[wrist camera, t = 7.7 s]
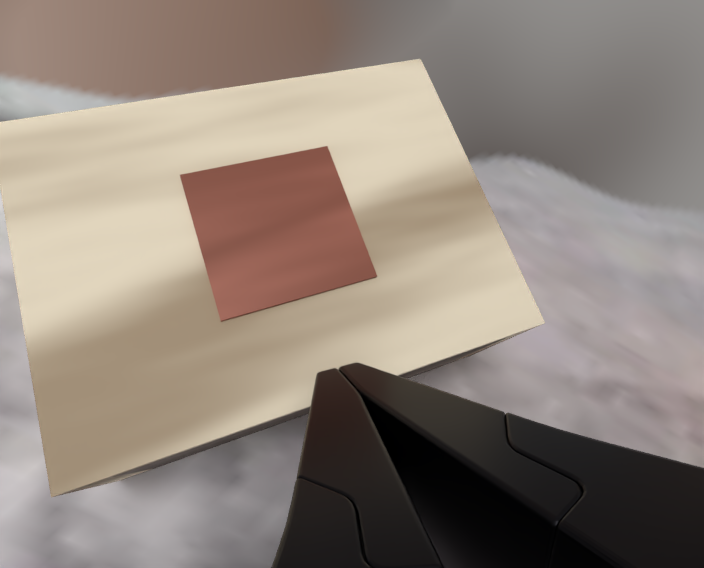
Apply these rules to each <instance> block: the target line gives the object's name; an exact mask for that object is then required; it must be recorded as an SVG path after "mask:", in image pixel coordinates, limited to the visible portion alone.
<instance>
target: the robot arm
mask: <svg viewBox="0 0 704 568" xmlns="http://www.w3.org/2000/svg"><path fill="white" fill-rule="evenodd" d="M271 568H704V468H701V467H697V466H694V465H690V464H686V463H682V462H678V461H675V460H671V459H667V458H663V457H660V456H656V455H652V454H648V453H644V452H641V451H637V450H633V449H629V448H625V447H622V446H618V445H614V444H610V443H607V442H603V441H599V440H595V439H592V438H588V437H585V436H581V435H577V434H574V433H570V432H567V431H563V430H560V429H557V428H553V427H550V426H547V425H544V424H541V423H538V422H534V421H531V420H528V419H525V418H522V417H519V416H517V415H514V414H511V413H506V414H505V413H504V412H502V411H500V410H497V409H494V408H491V407H488V406H485V405H482V404H479V403H476V402H473V401H470V400H467V399H464V398H461V397H459V396H456V395H453V394H450V393H447V392H444V391H441V390H438V389H435V388H432V387H429V386H426V385H423V384H420V383H417V382H414V381H412V380H409V379H406V378H403V377H400V376H397V375H394V374H391V373H388V372H385V371H382V370H379V369H376V368H373V367H370V366H368V365H365V364H362V363H358V362H355V363H351V364H347V365H343V366H341V367H339V369H337V368H332V369H328V370H324V371H320V372H318V373H317V375H316V379H315V385H314V390H313V395H312V400H311V406H310V411H309V416H308V421H307V427H306V432H305V437H304V442H303V448H302V453H301V458H300V463H299V469H298V474H297V480H296V482H295V487H294V492H293V497H292V501H291V506H290V510H289V514H288V518H287V522H286V526H285V529H284V532H283V535H282V538H281V541H280V544H279V547H278V550H277V553H276V557H275V559H274V562H273V565H272V567H271Z"/></svg>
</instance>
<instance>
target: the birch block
mask: <svg viewBox="0 0 704 568" xmlns="http://www.w3.org/2000/svg"><path fill="white" fill-rule="evenodd" d="M0 189H1V195H2V201H3V207H4V213H5V219H6V225H7V231H8V237H9V243H10V249H11V255H12V262H13V268H14V274H15V280H16V286H17V292H18V298H19V304H20V310H21V316H22V322H23V328H24V334H25V341H26V347H27V353H28V359H29V365H30V371H31V377H32V383H33V389H34V395H35V401H36V407H37V413H38V420H39V426H40V432H41V438H42V444H43V450H44V456H45V462H46V468H47V474H48V480H49V486H50V492H51V497H54V496H59V495H63V494H67V493H71V492H75V491H79V490H83V489H87V488H91V487H95V486H100V485H104V484H108V483H112V482H116V481H120V480H123V479H126V478H128V477H131V476H134V475H137V474H140V473H142V472H145V471H148V470H151V469H154V468H157V467H160V466H162V465H165V464H168V463H171V462H174V461H176V460H179V459H182V458H185V457H188V456H190V455H193V454H196V453H199V452H202V451H204V450H207V449H210V448H213V447H216V446H218V445H221V444H224V443H227V442H230V441H232V440H235V439H238V438H241V437H244V436H246V435H249V434H252V433H255V432H258V431H260V430H263V429H266V428H269V427H272V426H274V425H277V424H280V423H283V422H286V421H288V420H291V419H294V418H297V417H300V416H302V415H305V414H308V413H309V411H310V406H311V400H312V395H313V390H314V385H315V379H316V375H317V373H318V372H320V371H324V370H328V369H332V368H337V369H339V367H341V366H343V365H347V364H351V363H355V362H358V363H362V364H365V365H368V366H370V367H373V368H376V369H379V370H382V371H385V372H388V373H391V374H394V375H397V376H400V377H403V378H409V377H412V376H415V375H417V374H420V373H423V372H426V371H429V370H431V369H434V368H437V367H440V366H443V365H445V364H448V363H451V362H453V361H456V360H459V359H462V358H465V357H467V356H470V355H473V354H475V353H477V352H480V351H482V350H484V349H487V348H489V347H491V346H493V345H496V344H498V343H500V342H503V341H505V340H507V339H510V338H512V337H514V336H516V335H519V334H521V333H523V332H526V331H528V330H530V329H533V328H535V327H537V326H539V325H542V324H544V323H545V322H544V320H543V317H542V315H541V313H540V311H539V309H538V307H537V305H536V303H535V300H534V298H533V296H532V294H531V292H530V290H529V288H528V286H527V284H526V281H525V279H524V277H523V275H522V273H521V271H520V269H519V267H518V264H517V262H516V260H515V258H514V256H513V254H512V252H511V250H510V247H509V245H508V243H507V241H506V239H505V237H504V235H503V233H502V230H501V228H500V226H499V224H498V222H497V220H496V218H495V216H494V214H493V211H492V209H491V207H490V205H489V203H488V201H487V199H486V197H485V194H484V192H483V190H482V188H481V186H480V184H479V182H478V180H477V177H476V175H475V173H474V171H473V169H472V167H471V165H470V163H469V161H468V158H467V156H466V154H465V152H464V150H463V148H462V146H461V144H460V142H459V139H458V137H457V135H456V133H455V131H454V129H453V127H452V125H451V123H450V120H449V118H448V116H447V114H446V112H445V110H444V108H443V105H442V103H441V101H440V99H439V97H438V95H437V93H436V91H435V89H434V86H433V84H432V82H431V80H430V78H429V76H428V74H427V71H426V69H425V67H424V65H423V63H422V61H421V59H416V60H410V61H403V62H397V63H390V64H383V65H377V66H370V67H363V68H356V69H350V70H343V71H337V72H330V73H323V74H317V75H310V76H303V77H297V78H290V79H283V80H277V81H270V82H264V83H258V84H250V85H243V86H237V87H230V88H223V89H217V90H210V91H204V92H197V93H190V94H184V95H177V96H170V97H164V98H157V99H150V100H144V101H137V102H130V103H124V104H117V105H110V106H104V107H97V108H91V109H84V110H77V111H71V112H64V113H57V114H51V115H44V116H37V117H31V118H24V119H17V120H11V121H4V122H0Z"/></svg>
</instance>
